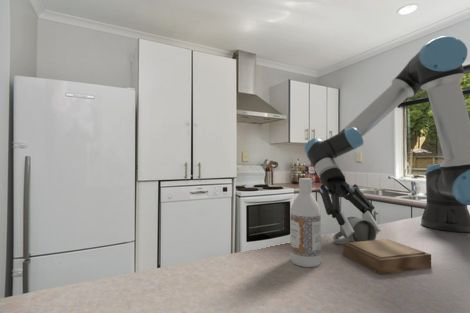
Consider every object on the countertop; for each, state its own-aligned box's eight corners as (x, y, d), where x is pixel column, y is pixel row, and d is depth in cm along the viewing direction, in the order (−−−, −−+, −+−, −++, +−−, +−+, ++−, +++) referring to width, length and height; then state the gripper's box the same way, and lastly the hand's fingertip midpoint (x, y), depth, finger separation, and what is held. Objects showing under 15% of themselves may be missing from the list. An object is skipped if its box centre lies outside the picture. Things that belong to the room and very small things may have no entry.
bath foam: (285, 258, 63) (285, 177, 64) (308, 255, 65) (308, 177, 66) (301, 270, 57) (301, 179, 57) (327, 265, 59) (326, 179, 59)
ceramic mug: (360, 238, 80) (359, 213, 80) (377, 246, 72) (376, 219, 72) (328, 239, 79) (327, 214, 79) (341, 248, 71) (341, 220, 71)
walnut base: (387, 250, 69) (387, 237, 70) (431, 267, 58) (431, 253, 58) (343, 254, 66) (343, 241, 66) (380, 274, 54) (380, 258, 54)
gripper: (350, 180, 93) (387, 237, 77) (298, 181, 88) (326, 242, 72) (361, 166, 88) (402, 224, 72) (306, 166, 83) (338, 228, 67)
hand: (364, 233), depth 72 cm, fingers closed on ceramic mug, 8 cm apart
